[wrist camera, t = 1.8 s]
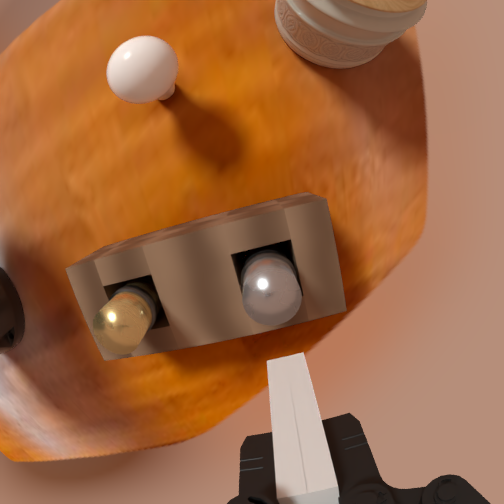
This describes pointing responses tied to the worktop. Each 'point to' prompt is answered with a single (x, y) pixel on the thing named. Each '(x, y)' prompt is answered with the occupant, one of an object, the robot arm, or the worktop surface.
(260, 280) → the steel peg
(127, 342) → the brass peg
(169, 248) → the socket block
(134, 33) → the worktop surface
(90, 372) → the worktop surface
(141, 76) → the lightbulb
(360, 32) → the jar
